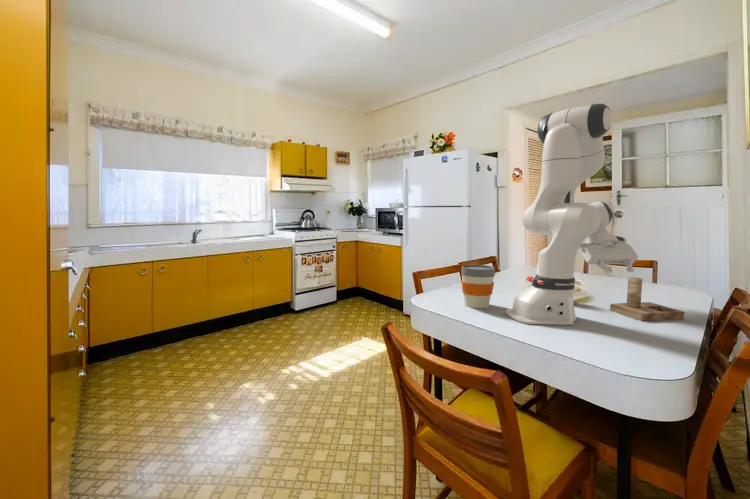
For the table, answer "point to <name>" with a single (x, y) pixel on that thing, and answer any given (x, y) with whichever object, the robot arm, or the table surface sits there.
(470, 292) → the reusable coffee cup
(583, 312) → the table surface
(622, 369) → the table surface
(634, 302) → the pin
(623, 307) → the pin board
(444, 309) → the table surface
